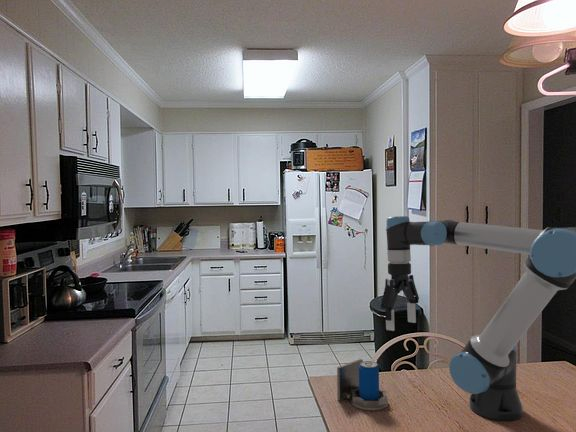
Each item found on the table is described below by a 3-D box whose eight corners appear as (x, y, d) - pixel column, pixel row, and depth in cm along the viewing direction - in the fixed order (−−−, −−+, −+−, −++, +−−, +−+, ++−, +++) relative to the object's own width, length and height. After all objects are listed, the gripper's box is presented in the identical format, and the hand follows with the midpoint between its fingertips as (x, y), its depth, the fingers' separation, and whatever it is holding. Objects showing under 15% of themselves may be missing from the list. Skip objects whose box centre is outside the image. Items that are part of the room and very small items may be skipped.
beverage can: (378, 396, 151) (377, 360, 150) (380, 404, 144) (379, 367, 144) (358, 396, 151) (358, 360, 151) (359, 404, 145) (359, 367, 145)
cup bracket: (395, 403, 147) (395, 369, 147) (372, 414, 139) (372, 379, 139) (360, 390, 158) (360, 358, 158) (337, 400, 150) (337, 367, 150)
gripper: (408, 258, 162) (410, 317, 162) (368, 265, 145) (370, 331, 144) (427, 259, 157) (429, 320, 157) (388, 266, 139) (390, 335, 139)
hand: (401, 326), depth 151 cm, fingers open, 13 cm apart
